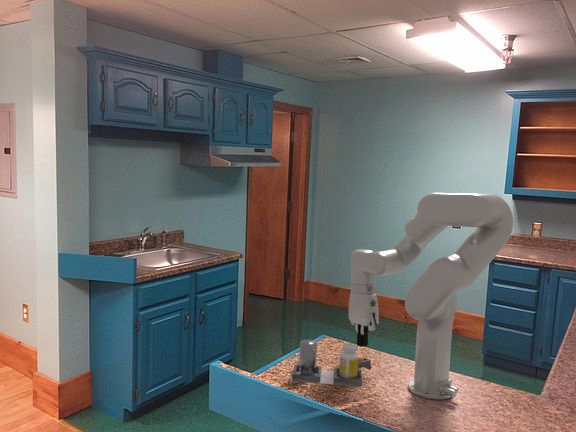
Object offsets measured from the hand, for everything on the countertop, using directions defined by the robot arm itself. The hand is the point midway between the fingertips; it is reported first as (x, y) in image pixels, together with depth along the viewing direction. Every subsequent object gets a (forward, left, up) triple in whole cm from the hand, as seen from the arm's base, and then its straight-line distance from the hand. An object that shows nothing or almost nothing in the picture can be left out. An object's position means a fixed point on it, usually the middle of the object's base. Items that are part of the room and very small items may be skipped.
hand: (362, 345), depth 158 cm
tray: (-4, +16, -7) cm, 18 cm away
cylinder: (0, +21, -6) cm, 22 cm away
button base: (+1, 0, -7) cm, 7 cm away
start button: (+1, 0, -6) cm, 6 cm away
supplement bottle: (-7, +11, -6) cm, 15 cm away
